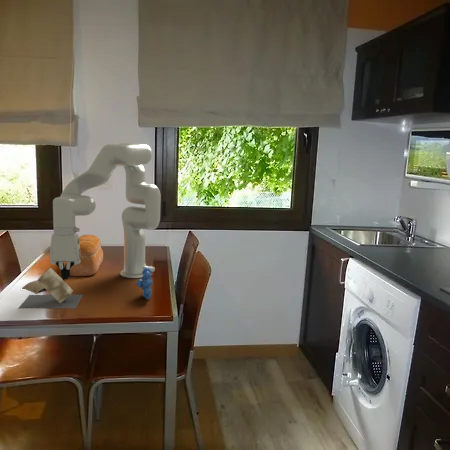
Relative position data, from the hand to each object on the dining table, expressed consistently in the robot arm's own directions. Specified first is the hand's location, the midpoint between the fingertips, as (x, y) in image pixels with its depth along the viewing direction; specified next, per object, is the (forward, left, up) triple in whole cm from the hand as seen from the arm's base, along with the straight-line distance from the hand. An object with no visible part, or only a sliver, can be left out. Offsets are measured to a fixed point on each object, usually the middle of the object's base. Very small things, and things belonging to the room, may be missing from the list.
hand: (65, 278), depth 164 cm
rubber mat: (+5, 0, -9) cm, 11 cm away
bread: (0, -44, -10) cm, 45 cm away
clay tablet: (+13, -16, -10) cm, 23 cm away
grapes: (-29, -5, -9) cm, 31 cm away
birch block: (0, 0, -7) cm, 7 cm away
